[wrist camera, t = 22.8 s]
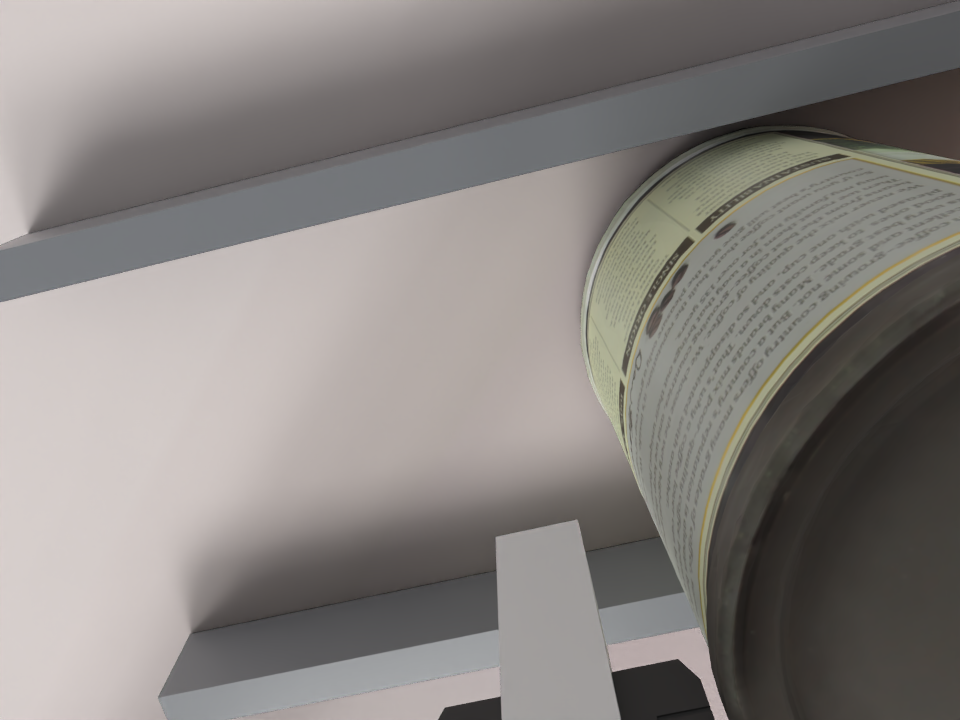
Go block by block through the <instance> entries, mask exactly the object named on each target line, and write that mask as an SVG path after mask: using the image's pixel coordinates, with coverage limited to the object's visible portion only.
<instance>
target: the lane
mask: <svg viewBox="0 0 960 720" xmlns="http://www.w3.org/2000/svg"><path fill="white" fill-rule="evenodd" d="M956 68H960V0H958V1H954V2H950V3H946V4H942V5H938V6H934V7H930V8H926V9H922V10H918V11H914V12H910V13H906V14H902V15H898V16H894V17H890V18H886V19H882V20H878V21H874V22H870V23H866V24H862V25H858V26H854V27H850V28H846V29H842V30H838V31H834V32H830V33H826V34H822V35H818V36H815V37H811V38H807V39H803V40H799V41H795V42H791V43H787V44H783V45H779V46H775V47H771V48H767V49H763V50H759V51H755V52H751V53H747V54H743V55H739V56H735V57H731V58H727V59H723V60H719V61H715V62H711V63H707V64H703V65H699V66H695V67H691V68H687V69H683V70H679V71H675V72H671V73H667V74H663V75H659V76H655V77H651V78H647V79H643V80H639V81H635V82H631V83H627V84H623V85H619V86H615V87H611V88H607V89H603V90H599V91H595V92H591V93H587V94H583V95H579V96H575V97H571V98H567V99H563V100H560V101H556V102H552V103H548V104H544V105H540V106H536V107H532V108H528V109H524V110H520V111H516V112H512V113H508V114H504V115H500V116H496V117H492V118H488V119H484V120H480V121H476V122H472V123H468V124H464V125H460V126H456V127H452V128H448V129H444V130H440V131H436V132H432V133H428V134H424V135H420V136H416V137H412V138H408V139H404V140H400V141H396V142H392V143H388V144H384V145H380V146H376V147H372V148H368V149H364V150H360V151H356V152H352V153H348V154H344V155H340V156H336V157H332V158H328V159H324V160H320V161H316V162H312V163H308V164H304V165H301V166H297V167H293V168H289V169H285V170H281V171H277V172H273V173H269V174H265V175H261V176H257V177H253V178H249V179H245V180H241V181H237V182H233V183H229V184H225V185H221V186H217V187H213V188H209V189H205V190H201V191H197V192H193V193H189V194H185V195H181V196H177V197H173V198H169V199H165V200H161V201H157V202H153V203H149V204H145V205H141V206H137V207H133V208H129V209H125V210H121V211H117V212H113V213H109V214H105V215H101V216H97V217H93V218H89V219H85V220H81V221H77V222H73V223H69V224H65V225H61V226H57V227H53V228H49V229H45V230H42V231H38V232H34V233H30V234H26V235H23V236H21V237H19V238H16V239H14V240H11V241H9V242H7V243H4V244H2V245H0V302H4V301H8V300H12V299H16V298H20V297H24V296H28V295H32V294H36V293H40V292H45V291H49V290H53V289H57V288H61V287H65V286H69V285H73V284H77V283H81V282H85V281H90V280H94V279H98V278H102V277H106V276H110V275H114V274H118V273H122V272H126V271H130V270H134V269H139V268H143V267H147V266H151V265H155V264H159V263H163V262H167V261H171V260H175V259H179V258H184V257H188V256H192V255H196V254H200V253H204V252H208V251H212V250H216V249H220V248H224V247H228V246H233V245H237V244H241V243H245V242H249V241H253V240H257V239H261V238H265V237H269V236H273V235H278V234H282V233H286V232H290V231H294V230H298V229H302V228H306V227H310V226H314V225H318V224H322V223H327V222H331V221H335V220H339V219H343V218H347V217H351V216H355V215H359V214H363V213H367V212H372V211H376V210H380V209H384V208H388V207H392V206H396V205H400V204H404V203H408V202H412V201H416V200H421V199H425V198H429V197H433V196H437V195H441V194H445V193H449V192H453V191H457V190H461V189H466V188H470V187H474V186H478V185H482V184H486V183H490V182H494V181H498V180H502V179H506V178H510V177H515V176H519V175H523V174H527V173H531V172H535V171H539V170H543V169H547V168H551V167H555V166H560V165H564V164H568V163H572V162H576V161H580V160H584V159H588V158H592V157H596V156H600V155H604V154H609V153H613V152H617V151H621V150H625V149H629V148H633V147H637V146H641V145H645V144H649V143H654V142H658V141H662V140H666V139H670V138H674V137H678V136H682V135H686V134H690V133H694V132H698V131H703V130H707V129H711V128H715V127H719V126H723V125H727V124H731V123H735V122H739V121H743V120H748V119H752V118H756V117H760V116H764V115H768V114H772V113H776V112H780V111H784V110H788V109H792V108H797V107H801V106H805V105H809V104H813V103H817V102H821V101H825V100H829V99H833V98H837V97H842V96H846V95H850V94H854V93H858V92H862V91H866V90H870V89H874V88H878V87H882V86H886V85H891V84H895V83H899V82H903V81H907V80H911V79H915V78H919V77H923V76H927V75H931V74H936V73H940V72H944V71H948V70H952V69H956ZM585 553H586V557H587V562H588V566H589V571H590V575H591V579H592V584H593V588H594V593H595V597H596V601H597V606H598V610H599V614H600V619H601V623H602V628H603V632H604V636H605V641H606V645H611V644H616V643H621V642H626V641H631V640H636V639H641V638H646V637H651V636H656V635H661V634H666V633H671V632H677V631H682V630H687V629H692V628H697V627H699V625H698V622H697V620H696V618H695V615H694V613H693V611H692V608H691V606H690V603H689V601H688V599H687V597H686V594H685V592H684V590H683V588H682V586H681V583H680V581H679V579H678V577H677V574H676V572H675V569H674V567H673V565H672V562H671V560H670V557H669V555H668V553H667V550H666V548H665V546H664V544H663V541H662V539H661V537H657V538H652V539H647V540H643V541H638V542H633V543H628V544H623V545H618V546H613V547H609V548H604V549H599V550H594V551H589V552H585ZM499 666H500V655H499V626H498V596H497V571H493V572H488V573H483V574H478V575H473V576H468V577H464V578H459V579H454V580H449V581H444V582H439V583H434V584H430V585H425V586H420V587H415V588H410V589H405V590H401V591H396V592H391V593H386V594H381V595H376V596H372V597H367V598H362V599H357V600H352V601H347V602H343V603H338V604H333V605H328V606H323V607H318V608H314V609H309V610H304V611H299V612H294V613H289V614H284V615H280V616H275V617H270V618H265V619H260V620H255V621H251V622H246V623H241V624H236V625H231V626H226V627H222V628H217V629H212V630H207V631H202V632H197V633H193V634H190V635H189V637H188V639H187V641H186V643H185V645H184V647H183V649H182V651H181V653H180V655H179V657H178V659H177V661H176V663H175V665H174V667H173V669H172V671H171V673H170V675H169V677H168V679H167V681H166V683H165V685H164V687H163V689H162V691H161V693H160V695H159V697H158V699H159V702H160V704H161V706H162V709H163V711H164V713H165V716H166V718H167V720H231V719H236V718H241V717H246V716H251V715H256V714H261V713H266V712H271V711H276V710H281V709H286V708H291V707H296V706H302V705H307V704H312V703H317V702H322V701H327V700H332V699H337V698H342V697H347V696H352V695H357V694H362V693H367V692H372V691H378V690H383V689H388V688H393V687H398V686H403V685H408V684H413V683H418V682H423V681H428V680H433V679H438V678H443V677H448V676H454V675H459V674H464V673H469V672H474V671H479V670H484V669H489V668H494V667H499Z"/></svg>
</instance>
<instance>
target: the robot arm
mask: <svg viewBox="0 0 960 720" xmlns="http://www.w3.org/2000/svg"><path fill="white" fill-rule="evenodd" d="M496 566H497V596H498V626H499V655H500V685H501V697H497V698H492V699H487V700H482V701H477V702H471V703H466V704H461V705H456V706H451V707H446V708H445V709H444V710H443V712H442V714H441V716H440V718H439V719H438V720H715V719H714V716H713V714H712V711H711V709H710V705H709V702H708V700H707V697H706V694H705V691H704V688H703V686H702V683H701V680H700V679H699V678H698V677H697V676H696V675H695V674H694V673H693V672H692V671H691V670H689V669H688V668H687V667H686V666H685V665H684V664H683V663H682V662H681V661H680V660H678V659H676V660H671V661H666V662H661V663H656V664H651V665H646V666H641V667H636V668H631V669H626V670H621V671H616V672H612V668H611V663H610V659H609V654H608V650H607V645H606V641H605V636H604V632H603V628H602V623H601V619H600V614H599V610H598V606H597V601H596V597H595V593H594V588H593V584H592V579H591V575H590V571H589V566H588V562H587V557H586V553H585V549H584V544H583V540H582V535H581V531H580V527H579V522H578V519H577V520H573V521H568V522H563V523H559V524H554V525H549V526H544V527H540V528H535V529H530V530H525V531H521V532H516V533H511V534H506V535H502V536H497V537H496Z"/></svg>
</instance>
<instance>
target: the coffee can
mask: <svg viewBox="0 0 960 720" xmlns="http://www.w3.org/2000/svg"><path fill="white" fill-rule="evenodd" d="M580 322H581V349H582V354H583V357H584V361H585V365H586V369H587V375H588V377H589V380H590V382H591V385H592V387H593V390H594V392H595V394H596V397H597V399H598V401H599V403H600V404H601V406H602V408H603V409H604V411H605V412H606V414H607V415H608V417H609V419H610V420H611V423H612V425H613V427H614V429H615V432H616V434H617V436H618V439H619V441H620V444H621V446H622V448H623V451H624V453H625V455H626V458H627V460H628V462H629V465H630V467H631V469H632V472H633V474H634V476H635V479H636V482H637V484H638V487H639V489H640V492H641V494H642V496H643V498H644V500H645V502H646V505H647V507H648V509H649V512H650V514H651V516H652V519H653V521H654V523H655V526H656V528H657V530H658V532H659V535H660V537H661V539H662V541H663V544H664V546H665V548H666V550H667V553H668V555H669V557H670V560H671V562H672V565H673V567H674V569H675V572H676V574H677V577H678V579H679V581H680V583H681V586H682V588H683V590H684V592H685V594H686V597H687V599H688V601H689V603H690V606H691V608H692V611H693V613H694V615H695V618H696V620H697V622H698V625H699V627H700V629H701V632H702V634H703V636H704V638H705V641H706V643H707V645H708V648H709V654H710V661H711V668H712V672H713V675H714V678H715V682H716V685H717V688H718V692H719V695H720V698H721V701H722V703H723V706H724V709H725V711H726V714H727V717H728V719H729V720H960V161H959V160H954V159H949V158H944V157H939V156H935V155H930V154H925V153H920V152H915V151H911V150H906V149H902V148H897V147H893V146H888V145H883V144H879V143H874V142H869V141H863V140H859V139H854V138H851V137H848V136H846V135H843V134H840V133H836V132H833V131H829V130H825V129H820V128H815V127H805V126H787V125H778V126H760V127H754V128H748V129H743V130H739V131H736V132H733V133H729V134H726V135H723V136H720V137H717V138H714V139H712V140H709V141H707V142H704V143H702V144H700V145H698V146H696V147H694V148H692V149H690V150H689V151H687V152H685V153H683V154H681V155H680V156H678V157H676V158H675V159H673V160H672V161H671V162H669V163H668V164H666V165H665V166H664V167H662V168H661V169H660V170H658V171H657V172H656V173H655V174H653V175H652V176H651V177H650V178H649V179H648V180H646V181H645V182H644V183H643V184H642V185H641V186H640V187H639V188H638V189H637V190H636V191H635V192H634V193H633V194H632V195H631V196H630V197H629V198H628V199H627V200H626V201H625V202H624V204H623V205H622V207H621V208H620V209H619V211H618V212H617V214H616V215H615V217H614V218H613V220H612V222H611V223H610V225H609V227H608V229H607V230H606V232H605V234H604V235H603V237H602V239H601V241H600V243H599V245H598V247H597V249H596V252H595V254H594V257H593V259H592V262H591V265H590V268H589V270H588V273H587V276H586V282H585V287H584V292H583V298H582V306H581V321H580Z"/></svg>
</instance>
